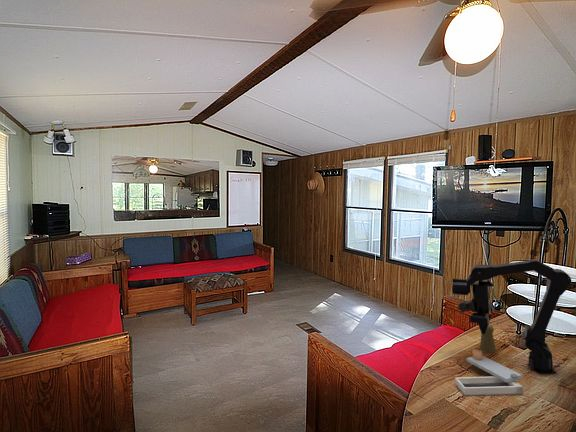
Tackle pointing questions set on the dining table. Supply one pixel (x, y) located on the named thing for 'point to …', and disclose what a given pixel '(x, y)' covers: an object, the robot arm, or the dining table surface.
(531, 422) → the dining table surface
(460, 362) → the dining table surface
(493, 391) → the white tray with rod
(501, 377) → the cover
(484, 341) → the olive brown bulbous cylinder
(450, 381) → the dining table surface
